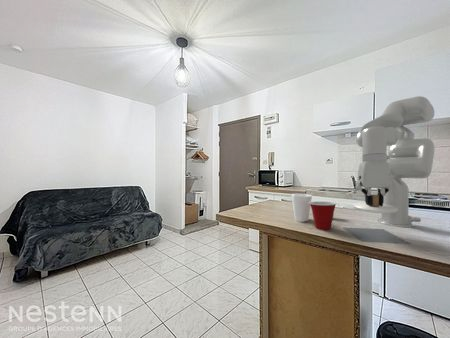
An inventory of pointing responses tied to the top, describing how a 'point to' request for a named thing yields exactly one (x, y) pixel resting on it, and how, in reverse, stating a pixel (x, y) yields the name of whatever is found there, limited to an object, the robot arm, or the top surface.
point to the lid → (375, 206)
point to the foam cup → (301, 206)
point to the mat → (375, 235)
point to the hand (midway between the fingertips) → (374, 204)
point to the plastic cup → (323, 214)
